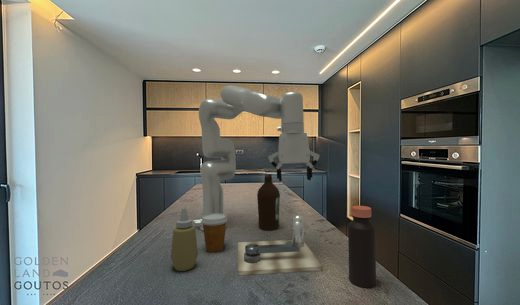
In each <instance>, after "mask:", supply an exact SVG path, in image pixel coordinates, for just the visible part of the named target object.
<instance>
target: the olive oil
mask: <svg viewBox="0 0 520 305" xmlns="http://www.w3.org/2000/svg"><path fill="white" fill-rule="evenodd" d="M272 175H273V174H271V173H265V174H264V183H262V184H261V186H260V187H259V188H258V190H257V192H256V193H257V194H256V197H257V199H256V200H257V212H258V229H260V230H262V231H276V230H277V229H279V228H280V205H281V204H280V202H281V195H280V194H281V193H280V191H279V189H278V187H277V186H276V185H275V184H274V183H273V177H272Z"/></svg>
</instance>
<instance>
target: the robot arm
mask: <svg viewBox="0 0 520 305" xmlns="http://www.w3.org/2000/svg"><path fill="white" fill-rule="evenodd" d="M219 94H220V96H219V97H220V99H218V98H217V99H216V98H206V99H203V100H202V101H201V102H200V104H199V107H198V120H199V123H200V127H201V144H202V147H201V148H202V153H203V156H204V157H206V158H210V159H211V158H214V159H216V158H221V160H220V159H216V160H207V161H205V162H203V163H202V164H201V165H200V169H199V172H200V174H199V175H200V178H201V183H202V184H201V186H202V217H203V216H204V215H207V214H213V213H221V214H225V212H224V189H223V185H222V183H221V182H220V181H224V180H231V179H232V178H233V177H235V176H236V175H235V174H236V171H237V170H236V169H237V168H236V166H237V162H236V151H235V150H236V149H235V144H234V142H233V141H232V140H231V139H230V138H226V137H221V130H220V129H221V128H220V126H219V124H218V122H217V121H216V119H222V120H234V119H235V118H237V117H238V116H240V114H241V113H243V112H246V113H250V114H252V115H255V116H258V117H263V118H269V119H277V120H281V123H280V124H281V125H280V126H277V127H276V129H277V132H281V133H279V136H278V151H276V152H274V153H272V154H271V155H268V156H267V159H268V160H269V162H270V164H271V165H272V166H273V167H274V168H275V169H276V180H277V179H278V181H279V182H282V181H283V180H282V178H283V177H282V168H281V167H282V166H283V164H305V165H306V167H307V168H306V179H307V181H311V180H312V179H311V178H313V168H314V167H315V165H317V164H318V160H319V159H320V154H319V153H316V152H314V151H312V150H311V149H310V144H309V137H308V133H307V132H305V120H304V117H305V116H304V97H303V95H302V93H300V92H298V91H297V92H296V91H290V92H285V93H283V94H282V95H281V96H280V97H277V96H273V95H270V94H266V93H265V94H264V93H262V92H256V91H255V90H252V89H249V88H247V87H241V86H237V85H233V84H232V85H231V84H230V85H225V86H224V87H222V88H221V91H220V93H219ZM311 156H312V157H313V160H312V161H311V162H310V160H311V158H310V157H311ZM276 157H278V163H277V162H275V161H274V159H275V158H276ZM201 220H202V218H200V219H198V218H196V219H193V224H195V225H199V230H200V231H203V232H204V230H203V224H202V222H201ZM226 228H228V224H227V223H226Z"/></svg>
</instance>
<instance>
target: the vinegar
mask: <svg viewBox="0 0 520 305" xmlns="http://www.w3.org/2000/svg"><path fill="white" fill-rule="evenodd" d="M351 217H352V220H351V221H350V222H349V224H348V227H347V228H348V230H347V231H348V232H347V233H348V237H347V238H348V279H349V282H351V283H352V284H353V285H355V286H356V287H361V288H365V289H367V288H373V287H375V285H376V284H377V251H376V248H377V246H376V243H377V242H376V235H377V234H376V226H375V225H374V224H373V222H371V219H372V208H371V207H369V206H366V205H353V206H351Z"/></svg>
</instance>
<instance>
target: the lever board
mask: <svg viewBox="0 0 520 305" xmlns="http://www.w3.org/2000/svg"><path fill="white" fill-rule="evenodd" d="M248 244H257V245H278V244H293V239H284V240H280V239H279V240H262V241H241V242H239V241H238V242H237V276H247V275H249V276H250V275H251V276H252V275H268V274H283V273H300V272H301V273H302V272H316V271H317V272H320V271H323V270H324V269H323V265H322V264H321V262H320V261H319V259H318V258H317V257H316V256H315V254H314V253H313V251H312V250H311V249H310V247H309V246H308V244H307V243H306V242H305V241H304V246H303V247H299V251H298V252H279V253H259V254H258V255H255V256H248V255H246V254H245V246H246V245H248Z"/></svg>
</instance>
